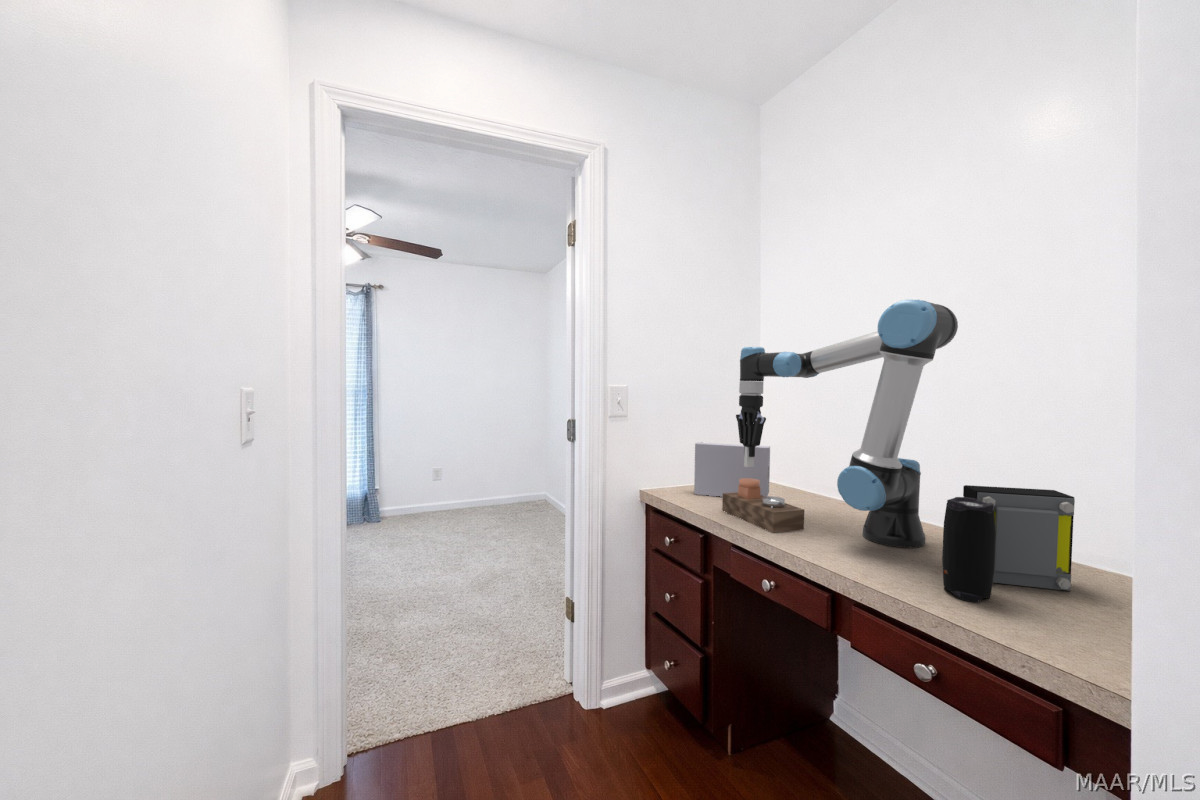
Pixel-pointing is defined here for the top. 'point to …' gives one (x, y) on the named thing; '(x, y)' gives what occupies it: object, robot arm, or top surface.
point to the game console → (728, 468)
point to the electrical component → (1030, 535)
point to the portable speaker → (968, 548)
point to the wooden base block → (764, 513)
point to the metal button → (773, 502)
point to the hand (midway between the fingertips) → (748, 466)
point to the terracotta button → (749, 488)
